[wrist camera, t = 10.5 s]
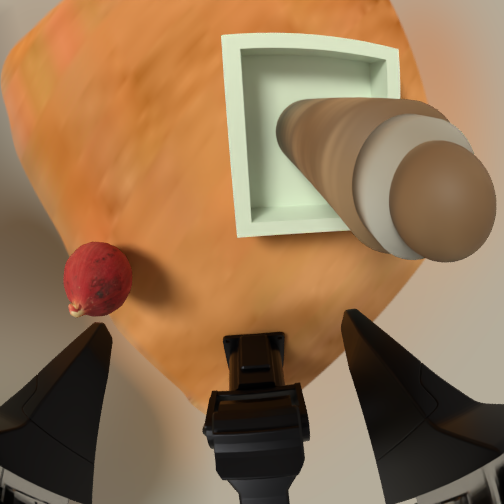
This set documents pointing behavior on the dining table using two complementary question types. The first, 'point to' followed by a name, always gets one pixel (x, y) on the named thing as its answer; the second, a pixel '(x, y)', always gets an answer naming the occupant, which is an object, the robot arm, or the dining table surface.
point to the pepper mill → (393, 174)
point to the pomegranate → (97, 279)
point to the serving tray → (270, 108)
